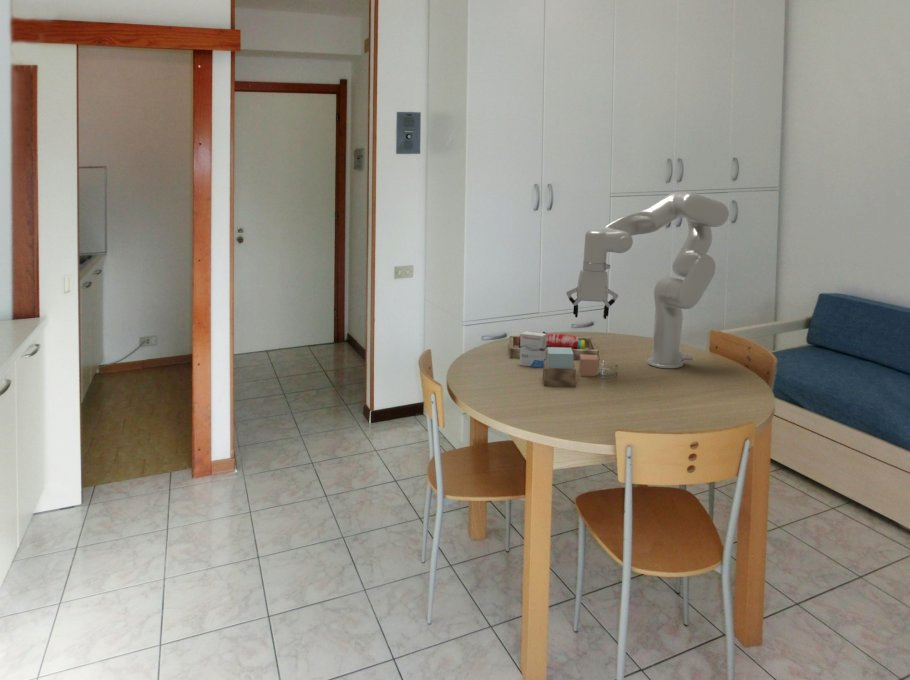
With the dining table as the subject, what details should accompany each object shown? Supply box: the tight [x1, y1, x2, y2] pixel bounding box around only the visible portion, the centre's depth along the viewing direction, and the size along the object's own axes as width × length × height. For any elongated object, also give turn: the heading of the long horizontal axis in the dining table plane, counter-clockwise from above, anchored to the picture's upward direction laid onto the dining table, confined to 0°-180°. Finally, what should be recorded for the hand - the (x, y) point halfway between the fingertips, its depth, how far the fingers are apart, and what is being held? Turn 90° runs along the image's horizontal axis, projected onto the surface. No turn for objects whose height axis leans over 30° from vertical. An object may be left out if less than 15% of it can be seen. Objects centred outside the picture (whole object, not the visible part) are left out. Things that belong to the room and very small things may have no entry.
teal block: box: [546, 347, 574, 369], centre depth 236 cm, size 8×8×5 cm
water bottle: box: [518, 331, 586, 350], centre depth 274 cm, size 12×8×25 cm
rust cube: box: [578, 355, 600, 377], centre depth 246 cm, size 6×6×6 cm
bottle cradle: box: [508, 335, 600, 361], centre depth 273 cm, size 33×20×4 cm, turn 86°
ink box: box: [519, 330, 548, 369], centre depth 255 cm, size 8×5×12 cm, turn 65°
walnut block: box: [542, 360, 577, 387], centre depth 237 cm, size 10×10×6 cm
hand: (590, 317), depth 243 cm, fingers open, 9 cm apart
